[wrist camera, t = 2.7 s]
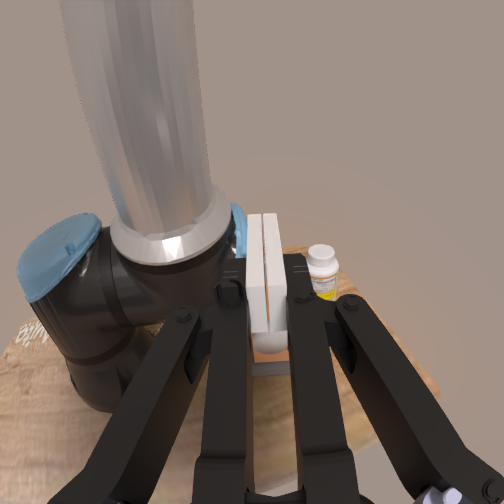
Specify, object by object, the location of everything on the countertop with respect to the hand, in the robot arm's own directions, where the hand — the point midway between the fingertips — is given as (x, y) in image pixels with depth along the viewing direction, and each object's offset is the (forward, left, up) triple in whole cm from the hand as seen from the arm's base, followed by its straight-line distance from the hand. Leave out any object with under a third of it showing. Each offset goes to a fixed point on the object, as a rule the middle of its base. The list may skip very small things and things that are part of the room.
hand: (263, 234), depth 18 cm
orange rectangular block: (0, +11, -24) cm, 27 cm away
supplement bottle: (+8, +22, -26) cm, 35 cm away
